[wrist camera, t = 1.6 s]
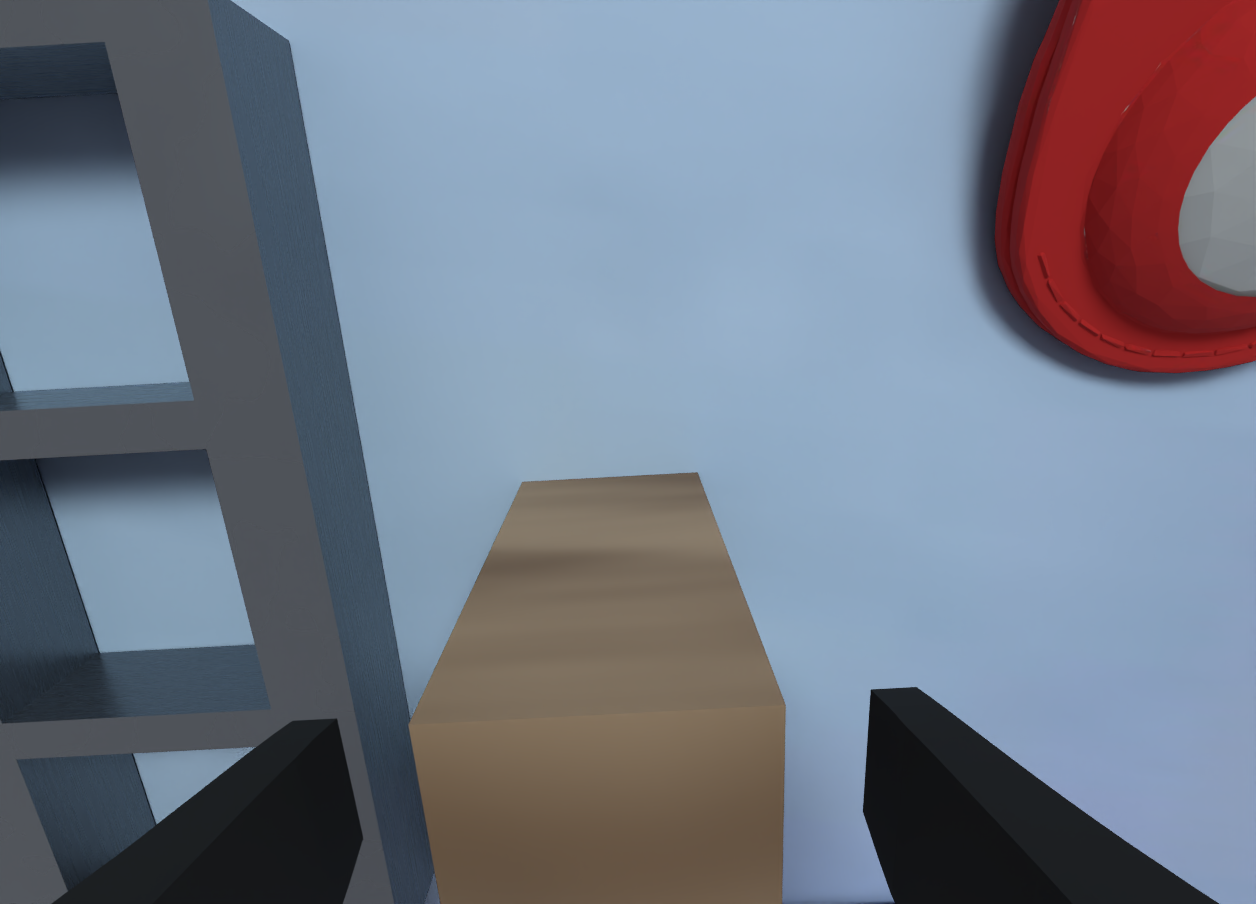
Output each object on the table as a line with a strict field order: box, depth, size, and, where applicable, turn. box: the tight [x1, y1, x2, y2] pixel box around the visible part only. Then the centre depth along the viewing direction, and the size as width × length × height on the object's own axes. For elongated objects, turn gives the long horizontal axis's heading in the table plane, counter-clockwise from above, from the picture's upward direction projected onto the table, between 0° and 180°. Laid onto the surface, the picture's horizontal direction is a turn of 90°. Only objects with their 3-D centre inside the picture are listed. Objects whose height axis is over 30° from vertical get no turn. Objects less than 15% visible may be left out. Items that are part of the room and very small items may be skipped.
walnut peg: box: [409, 472, 786, 904], centre depth 11 cm, size 4×4×8 cm
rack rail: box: [0, 0, 434, 904], centre depth 13 cm, size 20×9×2 cm, turn 3°
